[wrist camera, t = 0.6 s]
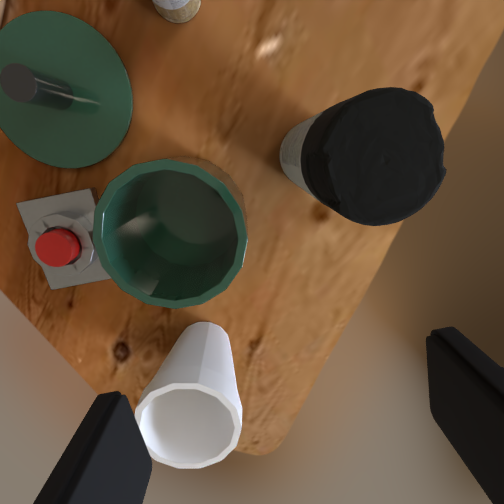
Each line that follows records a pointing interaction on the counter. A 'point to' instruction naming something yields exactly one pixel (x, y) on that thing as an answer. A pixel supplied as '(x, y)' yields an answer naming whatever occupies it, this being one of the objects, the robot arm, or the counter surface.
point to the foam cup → (192, 401)
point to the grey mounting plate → (74, 220)
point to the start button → (57, 247)
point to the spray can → (369, 156)
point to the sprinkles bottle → (177, 9)
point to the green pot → (171, 231)
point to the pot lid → (62, 90)
